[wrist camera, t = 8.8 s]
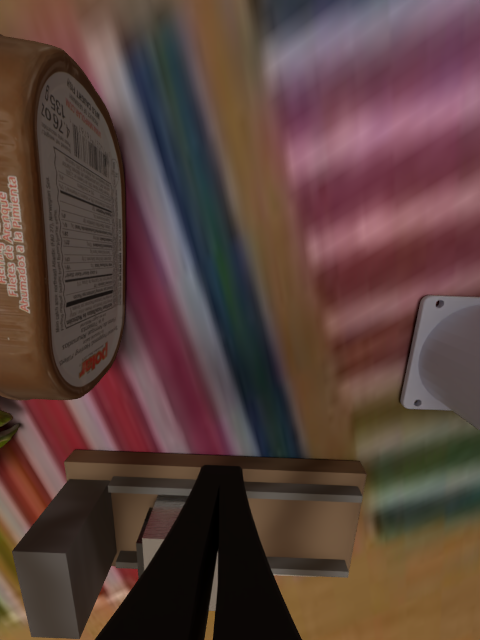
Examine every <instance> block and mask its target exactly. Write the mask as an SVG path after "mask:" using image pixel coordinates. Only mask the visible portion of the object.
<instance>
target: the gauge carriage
mask: <svg viewBox="0 0 480 640" xmlns="http://www.w3.org/2000/svg"><path fill="white" fill-rule="evenodd" d="M187 498H188V496H181V495H158V496H157V499H156V501H155V504H154V507H153V508H151V507H149V510H148V513H147V515H146V518H145V521H144V523H143V526H142V529H141V531H140V534H139V537H138V539H137V542H136V550H137V563H138V576H139V578H140V576H141V575H142V574H143V572H144V571H145V569H146V567H147V566H148V564H149V563H150V561H151V560H152V558H153V557H154V555H155V553H156V552H157V550H158V549H159V547H160V545H161V544H162V542H163V541H164V539H165V537H166V536H167V534H168V532H169V531H170V529H171V527H172V526H173V524H174V522H175V520H176V518H177V517H178V515H179V513H180V511H181V509H182V508H183V506H184V504H185V502H186V500H187ZM217 587H218V553H217V559H216V566H215V573H214V579H213V586H212V592H211V599H210V605H209V610H211V611H215V610H216V599H217Z"/></svg>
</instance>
